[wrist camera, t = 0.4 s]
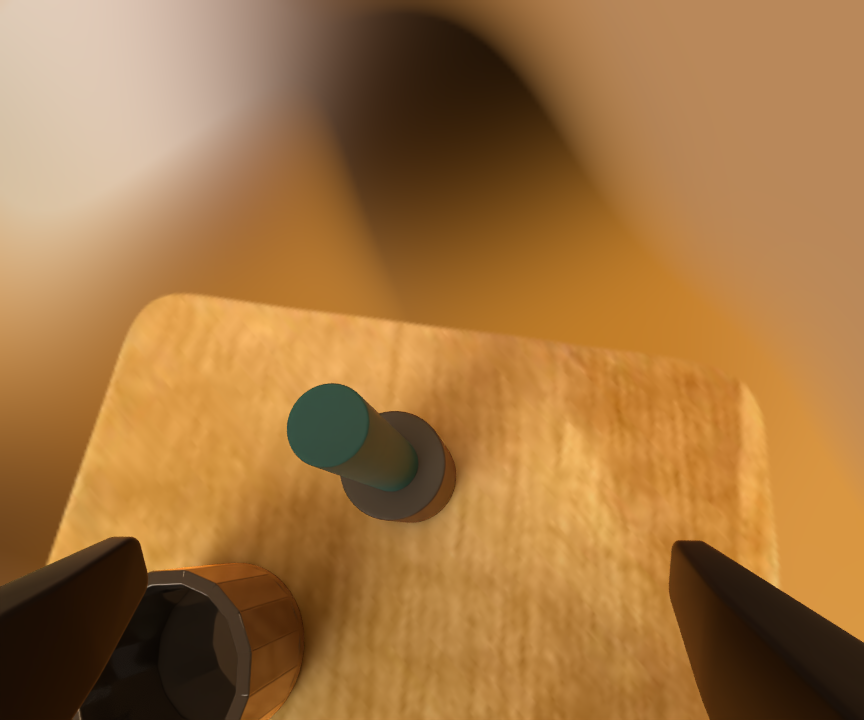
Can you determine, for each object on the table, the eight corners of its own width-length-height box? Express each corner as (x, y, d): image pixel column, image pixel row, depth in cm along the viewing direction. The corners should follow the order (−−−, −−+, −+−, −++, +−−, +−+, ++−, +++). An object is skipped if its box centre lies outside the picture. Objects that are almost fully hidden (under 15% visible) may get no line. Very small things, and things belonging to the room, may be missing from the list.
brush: (471, 497, 23) (441, 464, 11) (389, 538, 23) (277, 545, 11) (432, 417, 24) (371, 316, 13) (355, 455, 24) (224, 388, 13)
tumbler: (327, 691, 21) (277, 737, 16) (179, 766, 21) (86, 834, 16) (275, 536, 23) (217, 537, 19) (141, 603, 23) (49, 621, 18)
